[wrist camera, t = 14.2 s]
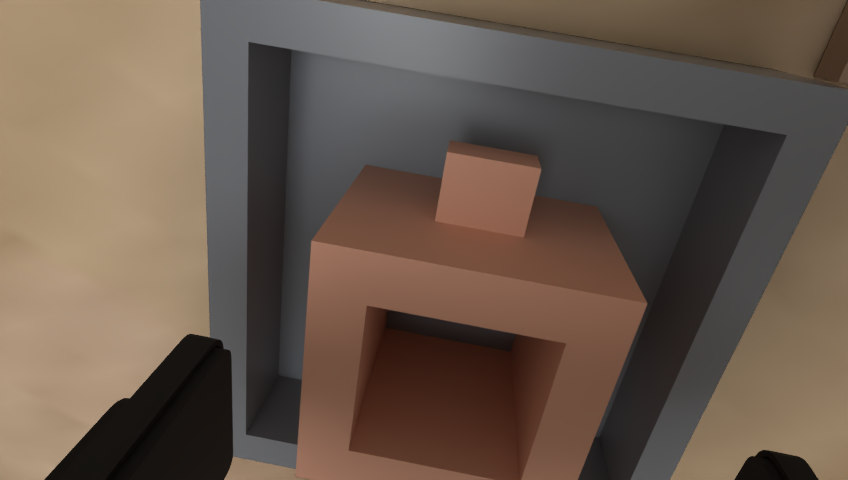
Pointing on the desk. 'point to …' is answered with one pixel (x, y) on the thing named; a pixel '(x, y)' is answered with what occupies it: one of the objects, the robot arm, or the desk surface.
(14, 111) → the desk surface
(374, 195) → the ring
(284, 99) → the tray
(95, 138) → the desk surface
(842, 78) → the board
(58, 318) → the desk surface
